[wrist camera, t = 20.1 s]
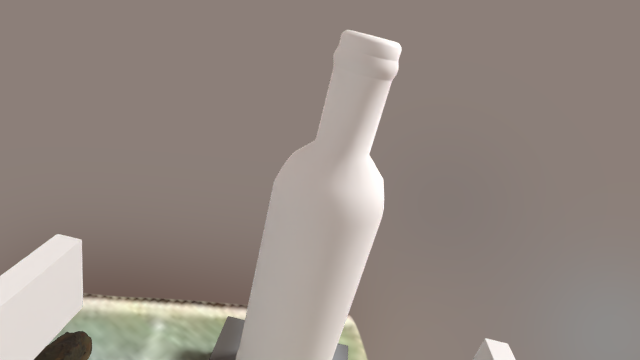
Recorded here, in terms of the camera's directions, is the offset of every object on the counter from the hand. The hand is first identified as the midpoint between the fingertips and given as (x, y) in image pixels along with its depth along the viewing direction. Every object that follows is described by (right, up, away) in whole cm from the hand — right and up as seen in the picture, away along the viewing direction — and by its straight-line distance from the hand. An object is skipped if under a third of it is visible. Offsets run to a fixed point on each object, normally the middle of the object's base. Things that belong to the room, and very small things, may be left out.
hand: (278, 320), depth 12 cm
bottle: (-3, -14, +21) cm, 26 cm away
